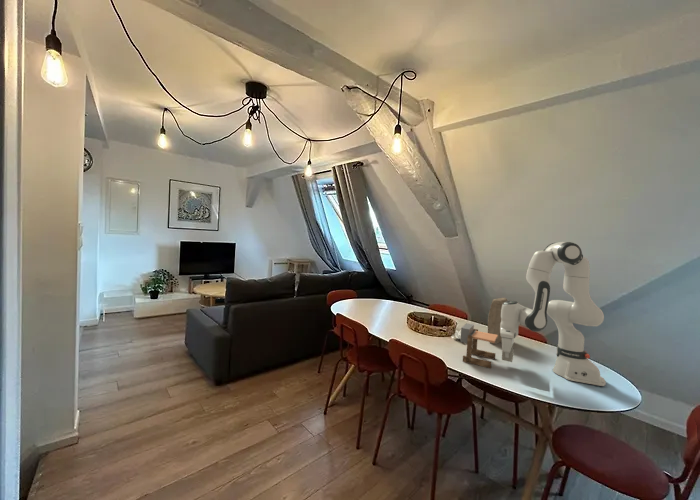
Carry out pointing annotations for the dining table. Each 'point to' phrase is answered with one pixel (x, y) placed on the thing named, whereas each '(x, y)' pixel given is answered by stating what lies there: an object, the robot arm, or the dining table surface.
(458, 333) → the lotus flower
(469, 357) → the frame
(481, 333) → the hammer
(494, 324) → the stone tablet
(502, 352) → the stone
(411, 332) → the dining table surface
